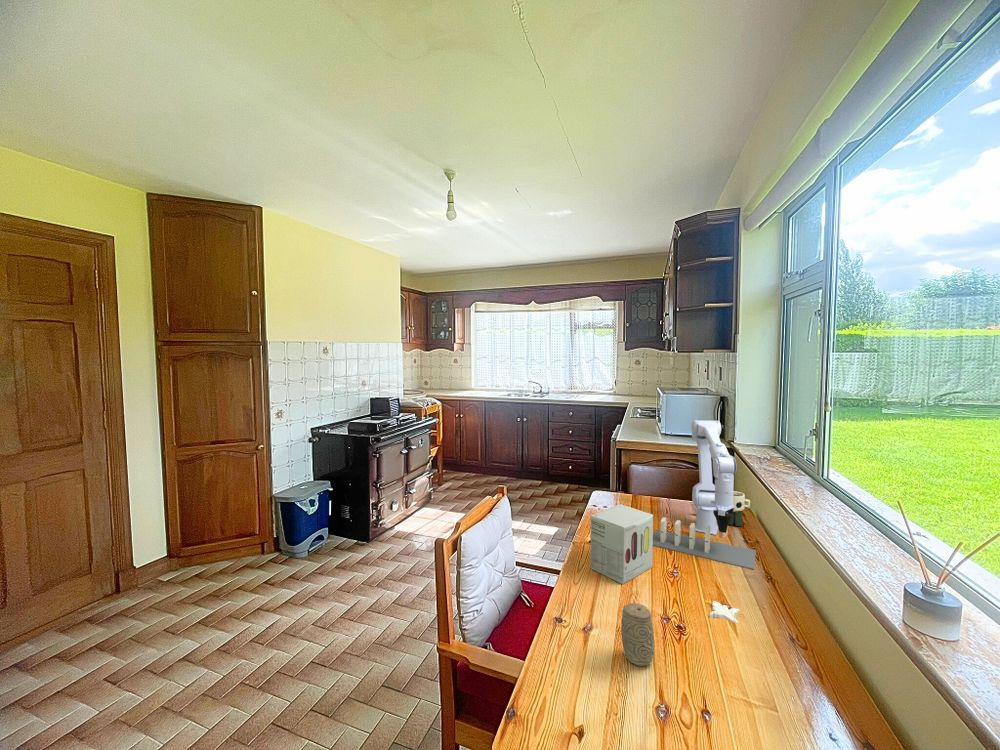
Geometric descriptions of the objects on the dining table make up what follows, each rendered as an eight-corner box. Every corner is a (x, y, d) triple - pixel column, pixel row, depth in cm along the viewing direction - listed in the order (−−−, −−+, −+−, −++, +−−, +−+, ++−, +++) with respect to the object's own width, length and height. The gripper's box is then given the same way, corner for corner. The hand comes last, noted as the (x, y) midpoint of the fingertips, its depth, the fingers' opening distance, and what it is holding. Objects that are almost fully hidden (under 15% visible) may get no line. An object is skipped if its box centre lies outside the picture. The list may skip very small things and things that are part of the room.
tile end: (724, 533, 147) (724, 511, 147) (727, 534, 146) (728, 512, 146) (718, 537, 144) (719, 514, 144) (722, 538, 143) (722, 515, 143)
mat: (656, 530, 167) (656, 529, 167) (755, 551, 148) (756, 550, 148) (647, 544, 154) (647, 543, 154) (753, 569, 135) (753, 568, 135)
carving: (627, 644, 101) (627, 596, 100) (658, 658, 96) (658, 608, 96) (616, 659, 96) (616, 609, 95) (648, 675, 91) (649, 622, 91)
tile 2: (677, 540, 156) (677, 519, 156) (680, 541, 155) (680, 520, 155) (674, 545, 152) (674, 524, 152) (678, 546, 151) (678, 524, 151)
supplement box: (624, 586, 127) (624, 528, 126) (589, 569, 137) (589, 515, 136) (654, 567, 138) (654, 513, 137) (619, 552, 148) (620, 503, 147)
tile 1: (663, 537, 159) (663, 517, 158) (666, 538, 158) (666, 517, 158) (660, 542, 155) (660, 521, 155) (663, 542, 154) (663, 521, 154)
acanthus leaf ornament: (709, 619, 111) (709, 612, 111) (708, 605, 117) (708, 599, 117) (741, 627, 108) (741, 619, 108) (739, 612, 114) (739, 605, 114)
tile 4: (706, 547, 150) (706, 525, 150) (710, 548, 150) (710, 526, 149) (704, 552, 147) (704, 530, 146) (708, 553, 146) (708, 531, 146)
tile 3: (691, 543, 153) (691, 522, 153) (695, 544, 152) (695, 523, 152) (689, 548, 149) (689, 527, 149) (692, 549, 149) (693, 527, 148)
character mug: (719, 524, 171) (719, 493, 170) (719, 518, 177) (720, 489, 177) (749, 530, 166) (750, 498, 165) (749, 523, 172) (750, 493, 171)
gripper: (713, 483, 153) (713, 519, 153) (708, 494, 141) (707, 534, 141) (735, 487, 149) (735, 524, 149) (732, 498, 137) (731, 539, 137)
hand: (723, 529), depth 145 cm, fingers closed on tile end, 5 cm apart
